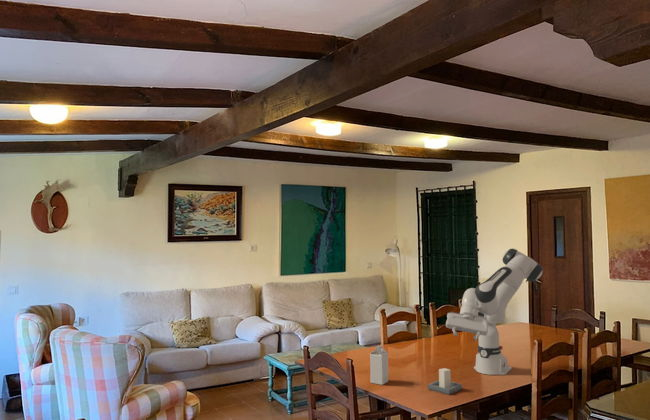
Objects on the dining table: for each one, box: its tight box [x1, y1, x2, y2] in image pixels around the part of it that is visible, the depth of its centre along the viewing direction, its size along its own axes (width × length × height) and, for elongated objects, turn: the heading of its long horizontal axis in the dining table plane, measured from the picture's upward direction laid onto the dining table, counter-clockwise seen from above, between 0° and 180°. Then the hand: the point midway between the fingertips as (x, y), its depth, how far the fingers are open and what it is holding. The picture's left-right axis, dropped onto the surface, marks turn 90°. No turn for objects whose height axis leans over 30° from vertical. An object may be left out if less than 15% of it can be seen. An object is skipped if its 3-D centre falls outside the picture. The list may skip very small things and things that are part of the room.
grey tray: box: [427, 379, 463, 396], centre depth 246 cm, size 12×12×2 cm
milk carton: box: [369, 344, 389, 386], centre depth 259 cm, size 7×7×19 cm
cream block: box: [438, 367, 452, 389], centre depth 246 cm, size 4×4×9 cm
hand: (464, 337), depth 239 cm, fingers open, 8 cm apart
